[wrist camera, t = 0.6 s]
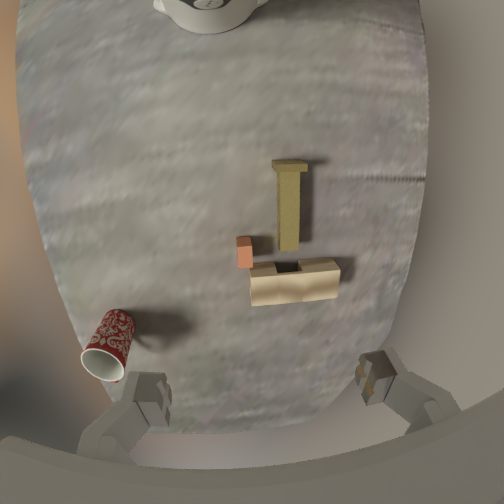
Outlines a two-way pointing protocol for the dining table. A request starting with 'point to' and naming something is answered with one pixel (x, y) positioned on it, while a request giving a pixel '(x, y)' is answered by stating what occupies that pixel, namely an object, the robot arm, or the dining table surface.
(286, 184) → the pin
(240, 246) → the orange block
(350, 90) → the dining table surface
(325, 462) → the robot arm
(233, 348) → the dining table surface
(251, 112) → the dining table surface
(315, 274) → the block
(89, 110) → the dining table surface
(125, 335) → the mug
